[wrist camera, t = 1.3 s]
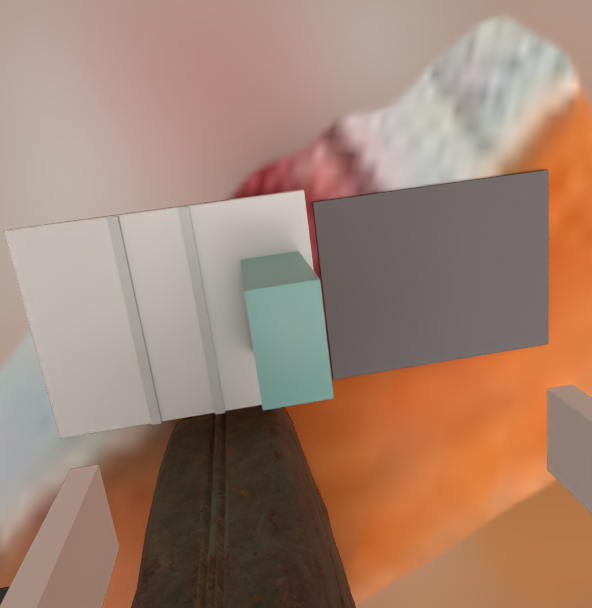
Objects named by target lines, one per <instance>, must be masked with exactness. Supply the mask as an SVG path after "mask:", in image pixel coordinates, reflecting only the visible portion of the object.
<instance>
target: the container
mask: <svg viewBox="0 0 592 608" xmlns="http://www.w3.org/2000/svg"><path fill="white" fill-rule="evenodd" d="M131 608H356V607H355V603H354V600H353V598H352V595H351V592H350V588H349V585H348V581H347V578H346V574H345V571H344V567H343V564H342V561H341V558H340V555H339V552H338V549H337V546H336V544H335V541H334V538H333V534H332V529H331V525H330V521H329V517H328V512H327V509H326V507H325V505H324V502H323V500H322V498H321V496H320V494H319V492H318V490H317V488H316V486H315V483H314V480H313V477H312V475H311V472H310V469H309V467H308V464H307V461H306V458H305V456H304V453H303V450H302V447H301V445H300V442H299V439H298V436H297V434H296V431H295V428H294V425H293V423H292V420H291V419H290V417H289V416H288V414H287V412H286V411H285V409H284V408H283V407H280V408H274V409H268V410H263V409H262V405H257V406H251V407H245V408H239V409H233V410H227V411H225V413H222V414H216V415H215V414H214V413H209V414H204V415H200V416H197V417H194V418H191V419H187V420H184V421H183V422H181V423H179V424H177V425H176V426H175V429H174V431H173V433H172V435H171V438H170V440H169V442H168V445H167V448H166V451H165V454H164V457H163V460H162V463H161V466H160V470H159V475H158V479H157V484H156V488H155V493H154V497H153V502H152V506H151V510H150V515H149V519H148V524H147V528H146V533H145V539H144V546H143V553H142V559H141V566H140V572H139V579H138V585H137V591H136V594H135V597H134V600H133V603H132V606H131Z"/></svg>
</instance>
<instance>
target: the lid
mask: <svg viewBox="0 0 592 608" xmlns="http://www.w3.org/2000/svg"><path fill="white" fill-rule="evenodd" d="M4 233H5V237H6V240H7V244H8V247H9V251H10V255H11V259H12V262H13V266H14V270H15V274H16V277H17V281H18V284H19V288H20V292H21V295H22V299H23V303H24V306H25V310H26V314H27V318H28V321H29V325H30V329H31V332H32V336H33V340H34V344H35V347H36V351H37V355H38V358H39V362H40V366H41V369H42V373H43V377H44V380H45V384H46V388H47V391H48V395H49V399H50V403H51V406H52V410H53V414H54V417H55V421H56V425H57V428H58V432H59V436H60V438H66V437H72V436H78V435H84V434H90V433H96V432H102V431H108V430H114V429H120V428H126V427H132V426H138V425H144V424H150V423H151V424H152V425H156V424H162V421H168V420H174V419H180V418H186V417H192V416H197V415H203V414H209V413H215V414H222V413H225V411H227V410H233V409H239V408H245V407H251V406H257V405H262V409H263V410H268V409H274V408H280V407H286V406H292V405H298V404H304V403H310V402H316V401H322V400H328V399H334V395H333V387H332V378H331V370H330V361H329V353H328V344H327V335H326V327H325V318H324V310H323V301H322V293H321V284H320V279H319V278H318V276H317V275H316V274H315V272H314V270H313V261H312V253H311V245H310V236H309V228H308V220H307V211H306V203H305V194H304V190H302V189H301V190H294V191H287V192H279V193H272V194H265V195H257V196H250V197H243V198H235V199H228V200H221V201H214V202H206V203H199V204H192V205H184V206H177V207H170V208H163V209H155V210H148V211H141V212H133V213H126V214H119V215H111V216H105V217H96V218H89V219H82V220H74V221H67V222H61V223H53V224H45V225H38V226H31V227H23V228H16V229H10V230H7V231H4Z"/></svg>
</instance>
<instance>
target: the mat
mask: <svg viewBox="0 0 592 608" xmlns="http://www.w3.org/2000/svg"><path fill="white" fill-rule="evenodd" d="M312 204H313V212H314V221H315V229H316V238H317V247H318V255H319V264H320V272H321V281H322V290H323V298H324V307H325V316H326V324H327V333H328V341H329V350H330V359H331V367H332V376H333V379H334V380H335V379H341V378H347V377H353V376H359V375H365V374H371V373H377V372H383V371H389V370H395V369H401V368H407V367H413V366H419V365H425V364H431V363H437V362H443V361H449V360H455V359H462V358H468V357H474V356H480V355H486V354H492V353H498V352H504V351H510V350H516V349H522V348H528V347H534V346H540V345H546V344H548V170H541V171H534V172H527V173H520V174H512V175H505V176H498V177H491V178H484V179H476V180H469V181H462V182H455V183H447V184H440V185H433V186H426V187H419V188H411V189H404V190H397V191H390V192H383V193H375V194H368V195H361V196H354V197H347V198H339V199H332V200H325V201H318V202H312Z"/></svg>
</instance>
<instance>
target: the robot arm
mask: <svg viewBox="0 0 592 608" xmlns="http://www.w3.org/2000/svg"><path fill="white" fill-rule="evenodd" d="M547 470H548V471H549V472H550V473H551V474H552V475H553V476H554V477H555V478H556V479H557V480H558V481H559V482H560V483H561V484H562V485H563V486H564V487H565V488H566V489H567V490H568V491H569V492H570V493H571V494H572V495H573V496H574V497H575V498H576V499H577V500H578V501H579V502H580V503H581V504H582V505H583V506H584V507H585V508H586V509H587V510H588V511H589V512H590V513H591V514H592V398H591V397H590V396H588V395H587V394H585V393H584V392H582V391H581V390H579V389H578V388H576V387H575V386H573V385H567V386H561V387H555V388H549V389H547ZM118 550H119V544H118V540H117V536H116V532H115V528H114V524H113V520H112V516H111V512H110V508H109V504H108V500H107V496H106V492H105V488H104V484H103V480H102V476H101V472H100V468H99V464H98V465H92V466H86V467H80V468H74V469H70V471H69V473H68V475H67V477H66V479H65V481H64V483H63V485H62V487H61V489H60V490H59V492H58V494H57V496H56V498H55V500H54V502H53V504H52V506H51V508H50V510H49V512H48V514H47V516H46V518H45V520H44V522H43V523H42V525H41V527H40V529H39V531H38V533H37V535H36V537H35V539H34V541H33V543H32V545H31V547H30V549H29V551H28V553H27V554H26V556H25V558H24V560H23V562H22V564H21V566H20V568H19V570H18V572H17V574H16V576H15V578H14V580H13V582H12V584H11V586H10V587H4V588H0V608H102V606H103V603H104V599H105V596H106V592H107V589H108V585H109V582H110V578H111V575H112V571H113V568H114V564H115V561H116V557H117V554H118Z"/></svg>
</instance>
